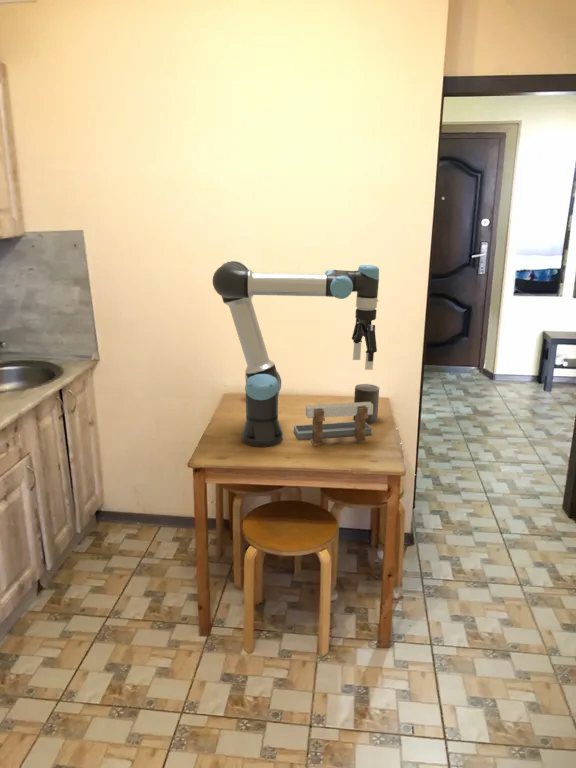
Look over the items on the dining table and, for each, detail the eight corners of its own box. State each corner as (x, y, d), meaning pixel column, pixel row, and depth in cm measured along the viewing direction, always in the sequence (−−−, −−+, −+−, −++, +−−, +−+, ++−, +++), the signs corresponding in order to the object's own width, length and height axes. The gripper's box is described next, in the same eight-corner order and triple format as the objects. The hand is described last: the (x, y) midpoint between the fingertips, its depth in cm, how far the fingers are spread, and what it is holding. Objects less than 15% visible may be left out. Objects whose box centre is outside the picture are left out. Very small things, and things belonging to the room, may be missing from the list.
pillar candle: (355, 423, 242) (356, 387, 238) (351, 415, 252) (353, 380, 247) (379, 424, 243) (381, 388, 238) (375, 415, 252) (377, 380, 247)
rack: (313, 447, 220) (314, 411, 215) (309, 440, 226) (310, 405, 222) (367, 443, 223) (369, 408, 219) (362, 437, 229) (363, 402, 225)
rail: (307, 418, 217) (308, 408, 216) (305, 414, 221) (305, 405, 220) (372, 414, 222) (373, 404, 221) (369, 411, 225) (370, 401, 224)
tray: (298, 439, 227) (298, 433, 226) (293, 431, 234) (293, 425, 233) (371, 434, 232) (371, 428, 231) (364, 426, 239) (364, 420, 238)
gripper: (388, 314, 213) (384, 373, 220) (364, 302, 236) (360, 355, 243) (368, 315, 212) (364, 374, 218) (345, 302, 235) (342, 356, 241)
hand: (362, 364), depth 230 cm, fingers open, 13 cm apart
